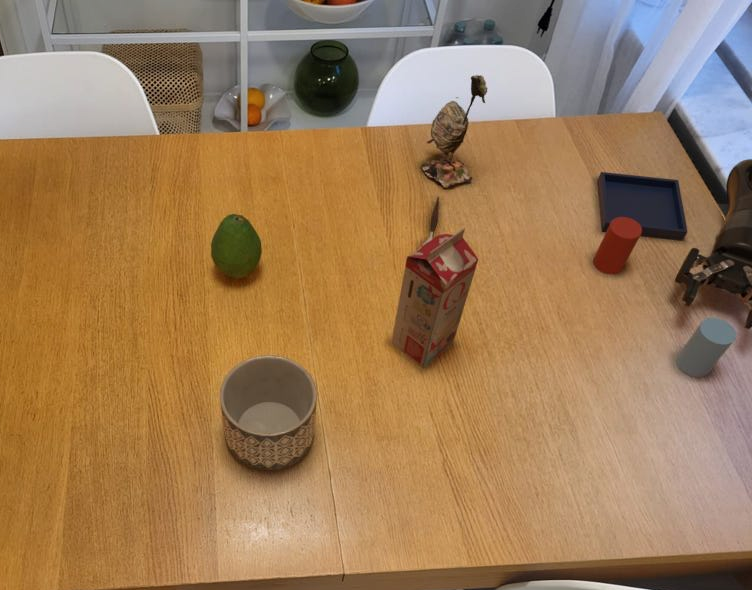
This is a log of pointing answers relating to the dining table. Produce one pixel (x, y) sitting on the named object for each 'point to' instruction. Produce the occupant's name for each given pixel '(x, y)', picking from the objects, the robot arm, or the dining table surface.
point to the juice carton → (433, 297)
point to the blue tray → (643, 204)
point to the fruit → (236, 247)
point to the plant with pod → (452, 138)
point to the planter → (268, 411)
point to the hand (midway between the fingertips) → (719, 313)
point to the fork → (433, 221)
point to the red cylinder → (617, 245)
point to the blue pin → (705, 347)
